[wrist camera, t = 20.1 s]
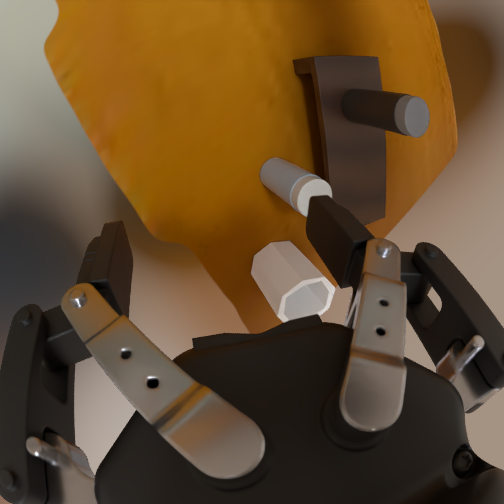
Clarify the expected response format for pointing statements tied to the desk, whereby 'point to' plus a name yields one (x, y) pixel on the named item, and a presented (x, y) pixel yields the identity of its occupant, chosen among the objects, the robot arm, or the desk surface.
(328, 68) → the desk shelf
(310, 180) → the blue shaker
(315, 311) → the mug
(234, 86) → the desk surface
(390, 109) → the dark shaker
